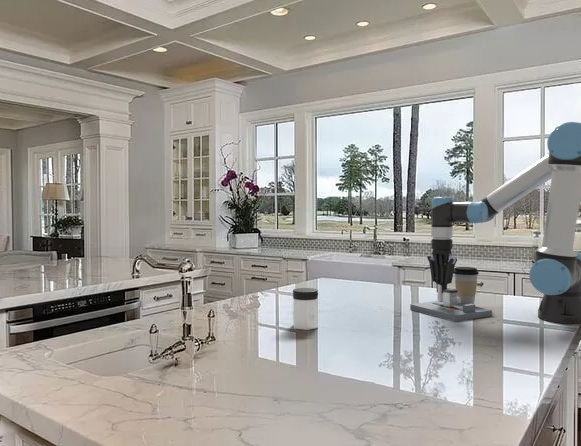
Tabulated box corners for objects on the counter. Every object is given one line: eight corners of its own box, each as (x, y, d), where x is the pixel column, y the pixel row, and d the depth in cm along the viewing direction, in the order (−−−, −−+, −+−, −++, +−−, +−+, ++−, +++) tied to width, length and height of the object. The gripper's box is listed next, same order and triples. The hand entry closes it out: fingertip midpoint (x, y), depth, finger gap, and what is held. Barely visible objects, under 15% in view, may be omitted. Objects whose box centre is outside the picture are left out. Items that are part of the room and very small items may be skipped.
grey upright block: (457, 305, 178) (457, 289, 178) (449, 307, 176) (449, 290, 176) (450, 304, 181) (450, 288, 181) (442, 305, 179) (442, 289, 179)
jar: (301, 331, 153) (301, 293, 152) (287, 326, 160) (286, 289, 159) (324, 327, 158) (324, 290, 157) (309, 322, 165) (309, 286, 164)
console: (491, 315, 173) (492, 302, 173) (455, 321, 165) (455, 307, 165) (445, 304, 193) (445, 293, 193) (410, 309, 184) (410, 297, 184)
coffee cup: (482, 309, 184) (482, 269, 183) (457, 309, 184) (457, 269, 184) (473, 304, 193) (473, 266, 193) (449, 304, 193) (449, 266, 193)
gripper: (462, 239, 178) (462, 303, 178) (436, 237, 189) (436, 298, 190) (447, 239, 174) (447, 305, 175) (421, 237, 186) (421, 299, 186)
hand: (441, 301), depth 182 cm, fingers closed
